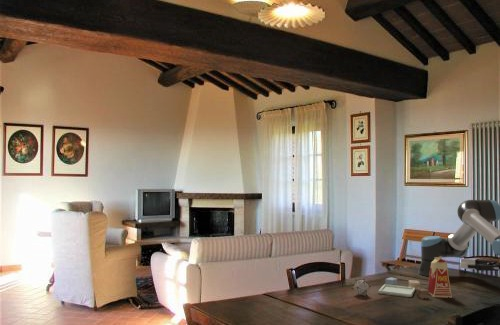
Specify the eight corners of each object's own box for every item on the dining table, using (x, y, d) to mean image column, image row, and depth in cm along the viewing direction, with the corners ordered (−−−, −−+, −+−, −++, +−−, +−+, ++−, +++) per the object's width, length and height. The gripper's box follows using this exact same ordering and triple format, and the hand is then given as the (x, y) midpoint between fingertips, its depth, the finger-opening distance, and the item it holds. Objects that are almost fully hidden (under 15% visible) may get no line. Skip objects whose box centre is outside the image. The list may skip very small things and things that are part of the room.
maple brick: (408, 287, 246) (408, 280, 246) (418, 288, 245) (418, 280, 245) (410, 289, 241) (410, 282, 241) (419, 290, 240) (419, 282, 240)
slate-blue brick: (390, 284, 253) (390, 277, 253) (397, 285, 250) (397, 278, 250) (385, 286, 248) (385, 279, 249) (392, 287, 246) (392, 280, 246)
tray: (384, 287, 246) (384, 284, 246) (415, 290, 239) (415, 287, 239) (378, 293, 232) (378, 290, 232) (411, 297, 225) (411, 294, 225)
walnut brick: (416, 296, 227) (416, 288, 227) (423, 296, 228) (423, 288, 228) (421, 298, 223) (421, 290, 223) (428, 298, 224) (428, 290, 224)
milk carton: (452, 297, 225) (451, 257, 226) (433, 297, 226) (433, 256, 226) (444, 293, 234) (444, 254, 235) (426, 292, 235) (426, 253, 235)
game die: (364, 303, 226) (371, 290, 221) (348, 296, 228) (354, 283, 222) (367, 291, 234) (374, 278, 228) (351, 284, 235) (357, 271, 230)
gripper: (511, 279, 205) (459, 275, 214) (508, 270, 227) (461, 266, 237) (511, 263, 205) (459, 259, 215) (507, 255, 228) (461, 252, 237)
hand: (460, 263), depth 226 cm, fingers open, 13 cm apart
